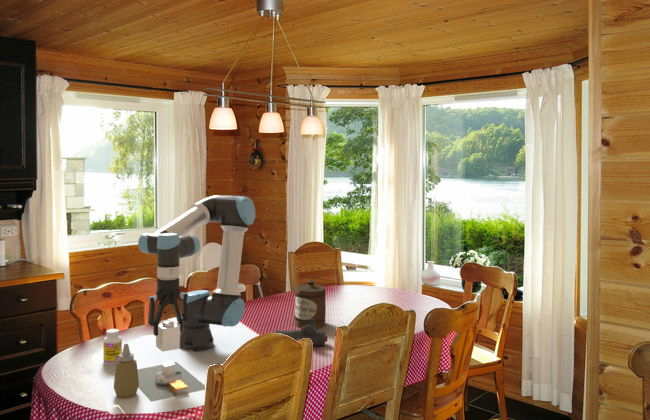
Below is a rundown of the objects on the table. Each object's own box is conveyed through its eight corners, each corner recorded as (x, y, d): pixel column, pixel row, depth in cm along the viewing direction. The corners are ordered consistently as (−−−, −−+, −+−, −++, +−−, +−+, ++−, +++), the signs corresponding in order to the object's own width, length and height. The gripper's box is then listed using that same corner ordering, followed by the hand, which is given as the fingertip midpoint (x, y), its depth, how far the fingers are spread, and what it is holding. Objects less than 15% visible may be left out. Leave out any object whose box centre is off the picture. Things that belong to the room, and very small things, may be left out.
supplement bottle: (102, 366, 221) (102, 333, 220) (104, 360, 228) (103, 328, 226) (121, 365, 223) (121, 332, 222) (122, 359, 229) (122, 327, 228)
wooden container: (288, 325, 281) (289, 280, 279) (306, 318, 293) (307, 275, 291) (313, 331, 272) (314, 284, 270) (331, 323, 284) (332, 279, 282)
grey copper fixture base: (151, 379, 208) (151, 362, 208) (175, 374, 213) (175, 357, 213) (169, 397, 194) (169, 378, 193) (194, 391, 199) (194, 373, 199)
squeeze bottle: (108, 398, 193) (107, 345, 191) (124, 389, 201) (124, 338, 199) (128, 403, 190) (127, 349, 188) (144, 393, 198) (144, 342, 196)
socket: (173, 343, 210) (173, 319, 209) (179, 348, 205) (179, 323, 204) (156, 346, 206) (156, 321, 206) (162, 351, 201) (162, 326, 201)
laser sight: (276, 340, 258) (277, 318, 257) (327, 342, 257) (328, 320, 256) (273, 347, 249) (274, 324, 248) (326, 349, 248) (327, 326, 247)
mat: (176, 363, 227) (176, 361, 226) (208, 390, 202) (208, 388, 202) (124, 373, 215) (124, 371, 215) (151, 403, 191) (151, 401, 191)
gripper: (144, 282, 195) (144, 350, 197) (198, 277, 206) (197, 341, 208) (137, 278, 201) (137, 343, 203) (190, 273, 212) (189, 335, 214)
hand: (167, 342), depth 206 cm, fingers closed on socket, 6 cm apart
